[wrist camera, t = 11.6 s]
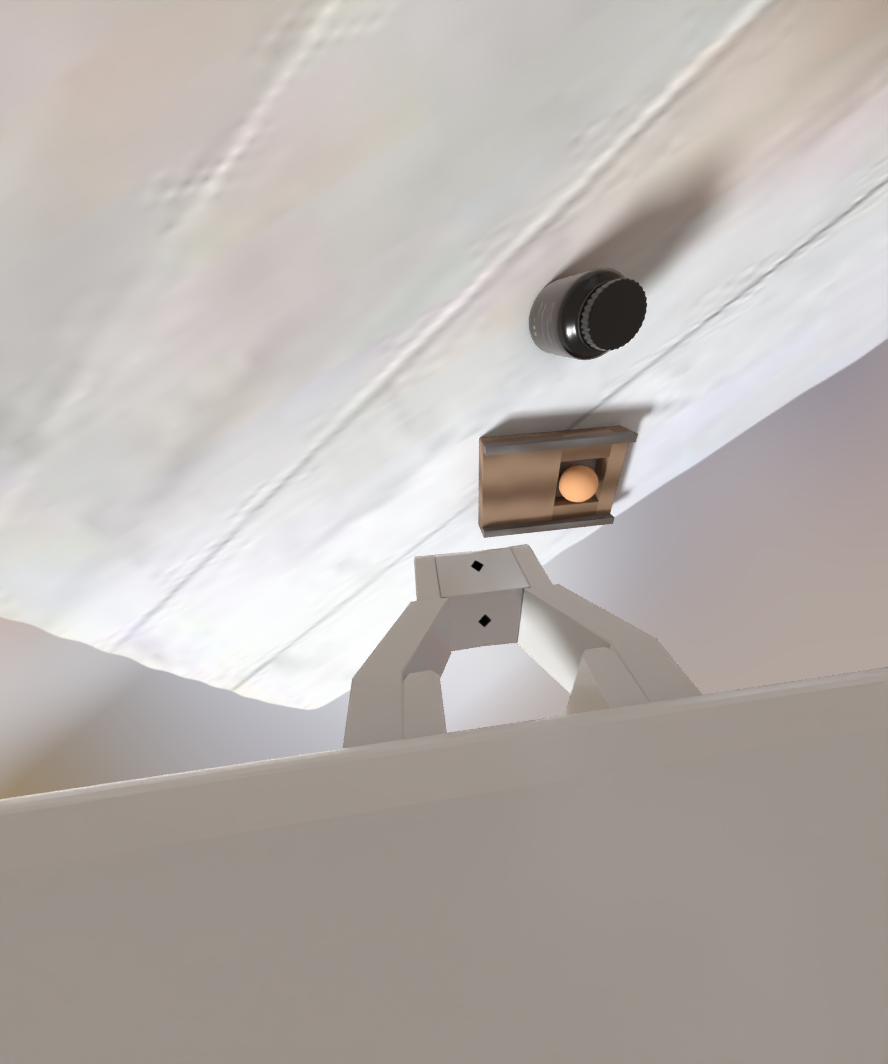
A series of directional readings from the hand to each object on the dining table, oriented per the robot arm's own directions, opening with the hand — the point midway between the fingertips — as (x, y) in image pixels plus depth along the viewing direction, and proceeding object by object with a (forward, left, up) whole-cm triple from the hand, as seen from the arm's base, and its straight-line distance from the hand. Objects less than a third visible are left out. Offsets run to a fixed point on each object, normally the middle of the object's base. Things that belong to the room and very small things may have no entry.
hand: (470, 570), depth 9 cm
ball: (+14, +21, -32) cm, 40 cm away
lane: (+14, +17, -34) cm, 41 cm away
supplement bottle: (-5, +16, -34) cm, 38 cm away
